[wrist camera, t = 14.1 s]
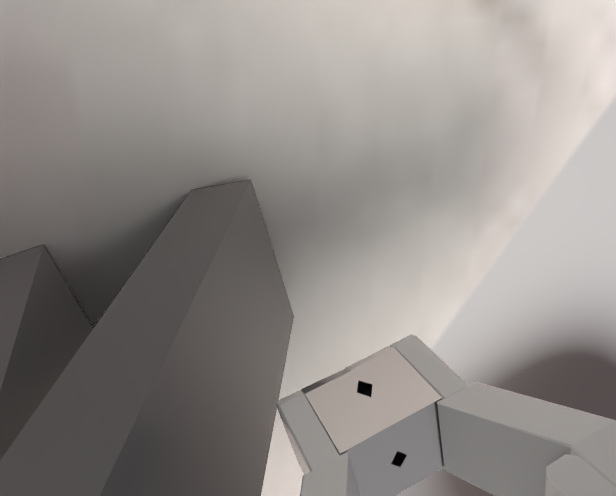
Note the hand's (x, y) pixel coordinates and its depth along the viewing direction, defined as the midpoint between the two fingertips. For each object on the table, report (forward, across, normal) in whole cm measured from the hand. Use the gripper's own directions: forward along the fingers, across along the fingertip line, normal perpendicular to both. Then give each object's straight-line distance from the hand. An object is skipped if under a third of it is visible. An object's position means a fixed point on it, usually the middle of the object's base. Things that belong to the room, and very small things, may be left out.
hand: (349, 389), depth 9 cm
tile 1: (+6, 0, 0) cm, 6 cm away
